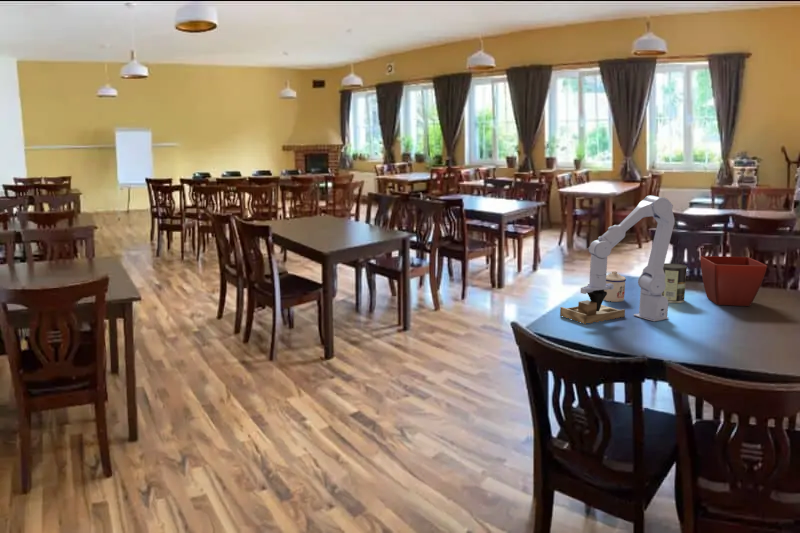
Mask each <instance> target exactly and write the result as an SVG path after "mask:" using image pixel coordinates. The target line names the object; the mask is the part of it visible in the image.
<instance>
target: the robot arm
mask: <svg viewBox="0 0 800 533" xmlns="http://www.w3.org/2000/svg"><path fill="white" fill-rule="evenodd" d="M673 208H674V205H673V203H671V201H670V200H669V199H668V198H666V197H663V196H662V197H661V196H657V195H653V194H651V195H650V194H649V195H646V196H645V198H644V199H642V200H641V201H639V203H638V204H637V205H636V207H635V208H633V210H632V211H631V212H630V213H629V214H628V215H627V216H626V217H625V218H624V219H623V220H622V221H620V223H619V224H614V225H612V226H609V227H607V229H608V230H607V231H606V232H604V233H603V234H602V235H600V236H598V237H597V238H598V239H596V240H593V241H592V242H591V243H590V244H589V246H588V252H589V254H590V264H589V265H590V266H589V281H588V282H589V283H587V285H585V286H582V287H580V294H584V295H588V297H589V301H592V302H596V303H597V309H596V311H599V310H600V307H601V305H603V304H602V303H603V301H605V300H604V298H605V296H606V295H607V292H605V291H604V290H608V289H614V284H611V283H606V275H607V270H608V269H607V268H608V256H610V255H611V252H612V249H614V247H616V246H617V245H618V244H619V242H621V241H623V239H624V238H625V237H626V232H628V230H630V228H632V227H633V226H635V225H636V224H637V223H638V222H640V220H642V219H643V218H648V217H649V218H650V217H653V219H654V220H655V222H656V223H657V225H656V228H655V233H654V236H653V241H652V245H651V249H650V254H649V259H648V263H647V265H646V266H645V267H644V268H643V269H642V272H641V275H640V276H639V277H638V279H637V284H638V286H639V288H640V294H639V306H638V307H639V310H638V313H633V316H634V317H638V318H641V319H645V320H648V321H650V322H658V321H663V320H668V319H669V316H668V310H669V303H668V299H667V298H666V297H664V296H662V292H663V291H664V290H665V287H666V284H665V273H664V270H663V267H664V264H665V262H666V259H667V254H668V250H669V246H670V242H671V238H672V234H673V229H674V226H675V222H676V220H675V219H676V218H675V216H674V212H673Z"/></svg>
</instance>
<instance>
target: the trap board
mask: <svg viewBox="0 0 800 533" xmlns="http://www.w3.org/2000/svg"><path fill="white" fill-rule="evenodd" d="M559 310H560V312H559V317H560V316H563V317H566V318H569V319H572V320H575V321H578V322H581V323H584V324H585V325H587V324H586V323H590V324H594V323H593V322H596V323H600V322H599V321H601V322H605V321H604V320H606V321H610V319H611V320H615V318H616V319H621V318H625V316H626V315H625V314H626V309H625V308H623V309H618V308H614V307H610V306H607V305H603V304H601V307H600V310H599V311H596V315H591V316H587V315H586V314H583V313H580V312H578V305H577V306H572V307H564V306H561V307H560V308H559ZM563 317H562V318H563ZM620 317H621V318H620ZM566 318H565V319H566ZM569 319H568V320H569ZM572 320H571V321H572ZM575 321H574V322H575ZM578 322H577V323H578ZM581 323H580V324H581ZM584 324H583V325H584Z"/></svg>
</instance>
